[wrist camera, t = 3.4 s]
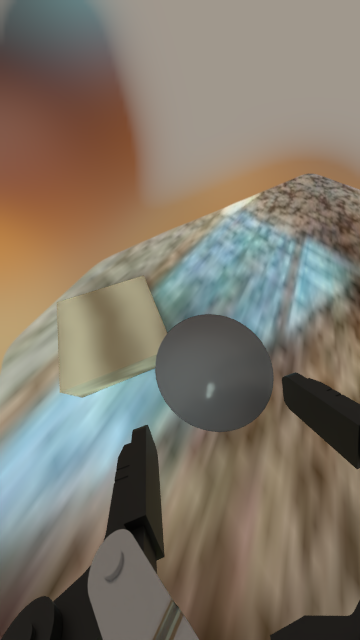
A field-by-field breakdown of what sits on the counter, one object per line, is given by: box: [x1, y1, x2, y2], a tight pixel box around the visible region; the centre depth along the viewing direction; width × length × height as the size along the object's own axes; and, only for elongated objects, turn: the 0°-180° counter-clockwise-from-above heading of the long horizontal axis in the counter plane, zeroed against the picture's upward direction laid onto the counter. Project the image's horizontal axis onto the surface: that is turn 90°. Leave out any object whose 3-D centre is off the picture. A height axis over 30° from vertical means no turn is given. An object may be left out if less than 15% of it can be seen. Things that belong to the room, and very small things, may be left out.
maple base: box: [57, 276, 167, 398], centre depth 19 cm, size 10×10×4 cm
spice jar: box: [155, 314, 273, 432], centre depth 13 cm, size 6×6×10 cm
